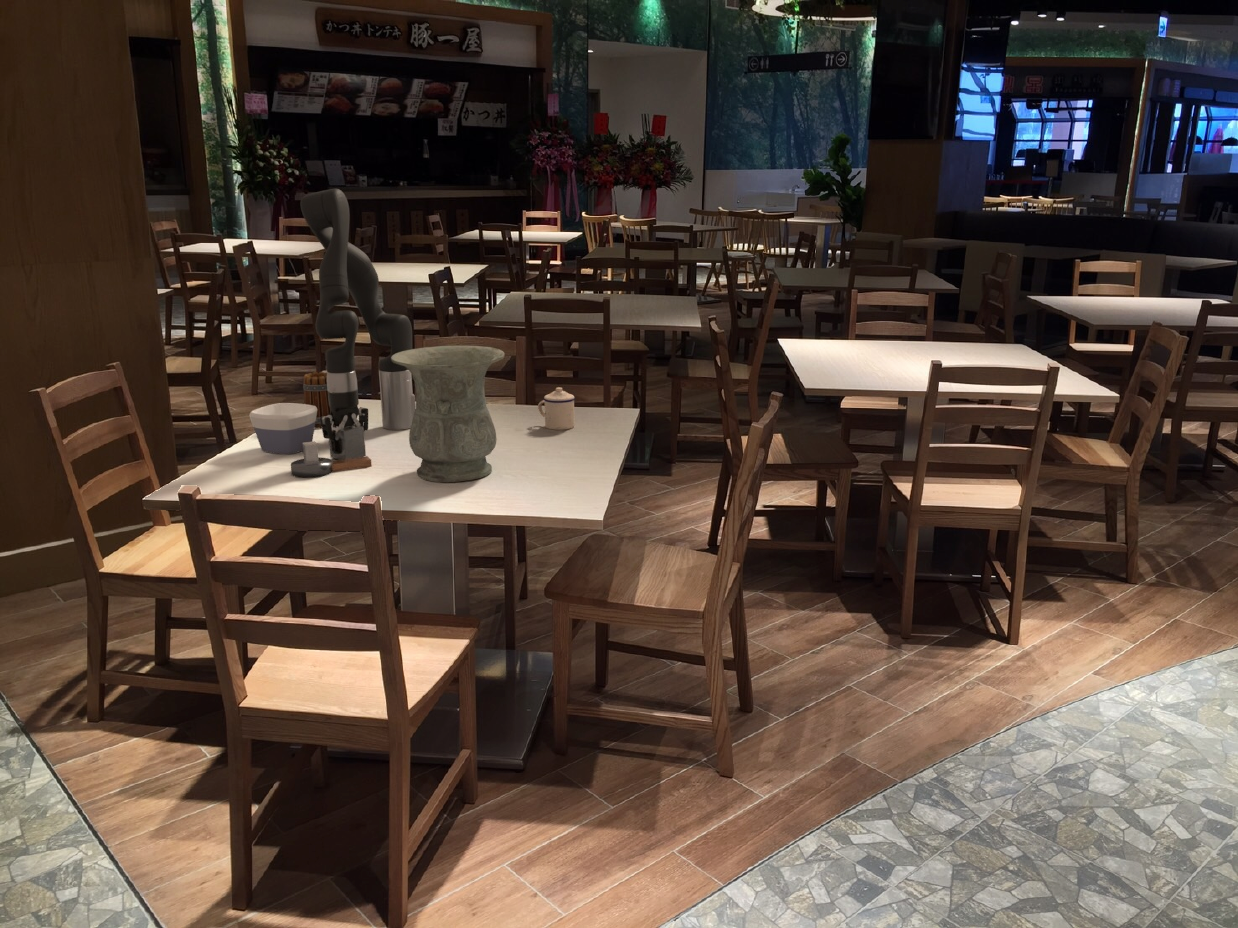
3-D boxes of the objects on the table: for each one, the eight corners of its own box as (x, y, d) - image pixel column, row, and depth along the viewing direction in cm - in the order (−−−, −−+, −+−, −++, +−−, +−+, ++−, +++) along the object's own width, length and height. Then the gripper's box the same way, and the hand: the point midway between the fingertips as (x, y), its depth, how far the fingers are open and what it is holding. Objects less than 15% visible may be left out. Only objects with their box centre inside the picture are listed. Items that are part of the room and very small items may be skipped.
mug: (335, 428, 302) (330, 378, 298) (299, 428, 303) (294, 378, 298) (349, 416, 317) (345, 368, 313) (315, 416, 318) (311, 368, 314)
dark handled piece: (364, 460, 268) (362, 432, 266) (374, 469, 259) (372, 440, 257) (287, 470, 259) (285, 441, 257) (296, 480, 251) (293, 450, 249)
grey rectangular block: (350, 452, 274) (347, 423, 272) (365, 456, 270) (363, 426, 268) (330, 457, 269) (327, 427, 267) (346, 461, 265) (343, 431, 263)
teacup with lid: (581, 425, 304) (580, 386, 301) (563, 431, 297) (563, 392, 293) (547, 420, 310) (547, 382, 307) (530, 426, 302) (529, 388, 299)
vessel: (383, 486, 245) (374, 362, 237) (419, 457, 270) (412, 344, 262) (493, 490, 241) (488, 364, 233) (519, 460, 267) (515, 346, 259)
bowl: (245, 453, 275) (240, 413, 272) (281, 440, 289) (278, 401, 286) (292, 458, 270) (289, 417, 267) (327, 444, 284) (324, 405, 281)
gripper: (355, 382, 272) (360, 443, 277) (310, 391, 261) (316, 454, 266) (373, 385, 268) (378, 447, 273) (329, 394, 257) (334, 459, 262)
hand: (347, 450), depth 269 cm, fingers closed on grey rectangular block, 6 cm apart
